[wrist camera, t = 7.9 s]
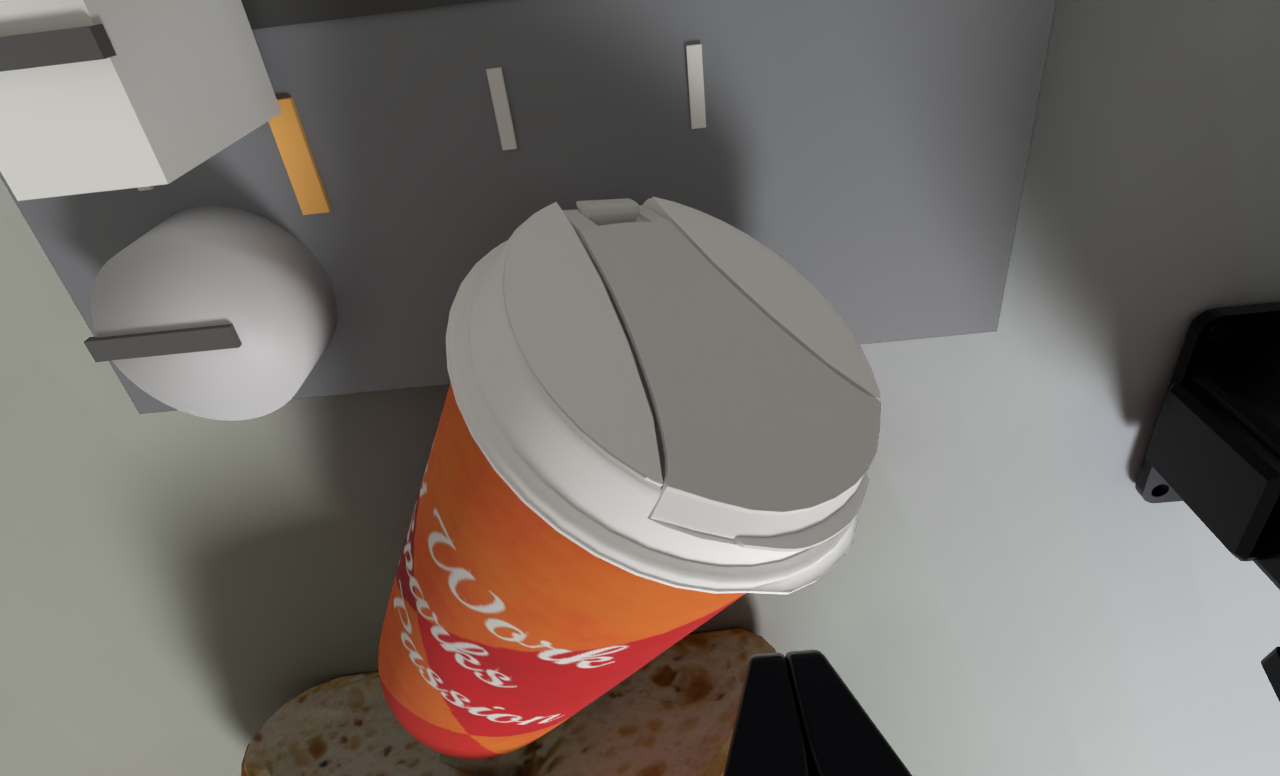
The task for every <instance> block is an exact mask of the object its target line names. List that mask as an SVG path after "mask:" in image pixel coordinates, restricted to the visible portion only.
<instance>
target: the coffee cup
mask: <svg viewBox="0 0 1280 776" xmlns="http://www.w3.org/2000/svg"><path fill="white" fill-rule="evenodd" d="M576 205H577V208H578V209H574V210H562V209H561V208H560V206H559V205H558V203H557V202H555V203H553V204H551V205H549V206H547V207H545V208H543V209H541V210H540V211H538V212H536V213H534V214H533V215H532V216H531V217H529V218H528V219H527V220H526V221H525V222H524V223H522V224H521V225H520V226H519V227H518V228H517V229H516V230H515V231H514V233H513V234H512V235H511V237H510V238H509V240H507V241H505V242H503V243H501V244H500V245H499V246H497V247H496V248H494V249H493V250H491V251H490V252H489V253H488V254H487V255H485V256H484V257H483V258H482V259H481V260H480V261H478V262H477V263H476V264H475V265H474V267H473V268H472V269H471V271H470V272H469V273H468V275H467V276H466V277H465V279H464V280H463V282H462V283H461V285H460V287H459V289H458V292H457V294H456V297H455V299H454V301H453V304H452V306H451V309H450V313H449V319H448V326H447V332H446V354H447V369H448V373H449V377H450V381H451V382H450V386H449V389H448V393H447V396H446V400H445V403H444V407H443V410H442V414H441V417H440V421H439V424H438V428H437V431H436V435H435V438H434V442H433V445H432V449H431V452H430V455H429V459H428V462H427V466H426V469H425V473H424V476H423V480H422V483H421V487H420V490H419V494H418V497H417V501H416V504H415V508H414V511H413V515H412V518H411V522H410V525H409V529H408V532H407V536H406V540H405V543H404V547H403V550H402V554H401V557H400V561H399V564H398V568H397V572H396V575H395V579H394V583H393V586H392V590H391V594H390V598H389V601H388V605H387V609H386V613H385V618H384V622H383V626H382V631H381V636H380V642H379V650H378V668H379V677H380V682H381V686H382V690H383V693H384V696H385V699H386V701H387V703H388V705H389V707H390V709H391V711H392V712H393V714H394V716H395V717H396V719H397V720H398V721H399V723H400V724H401V725H402V726H403V727H404V728H405V729H406V730H407V731H408V732H409V733H410V734H411V735H412V736H413V737H414V738H415V739H417V740H418V741H419V742H421V743H422V744H424V745H426V746H427V747H429V748H431V749H433V750H435V751H437V752H440V753H442V754H445V755H448V756H452V757H456V758H462V759H487V758H494V757H498V756H502V755H505V754H508V753H511V752H514V751H516V750H518V749H520V748H522V747H524V746H526V745H528V744H530V743H531V742H533V741H535V740H536V739H538V738H540V737H541V736H543V735H544V734H546V733H547V732H549V731H551V730H552V729H554V728H555V727H557V726H558V725H560V724H561V723H563V722H564V721H565V720H567V719H568V718H570V717H571V716H573V715H574V714H576V713H577V712H579V711H580V710H582V709H583V708H584V707H586V706H587V705H589V704H590V703H592V702H593V701H595V700H596V699H597V698H599V697H600V696H602V695H603V694H605V693H606V692H607V691H609V690H610V689H612V688H613V687H614V686H616V685H617V684H619V683H620V682H622V681H623V680H624V679H626V678H627V677H629V676H630V675H632V674H633V673H634V672H636V671H637V670H639V669H640V668H642V667H643V666H644V665H646V664H647V663H649V662H650V661H651V660H653V659H654V658H656V657H657V656H658V655H660V654H661V653H663V652H664V651H665V650H667V649H668V648H670V647H671V646H673V645H674V644H675V643H677V642H678V641H680V640H681V639H682V638H684V637H685V636H687V635H688V634H689V633H691V632H692V631H694V630H695V629H696V628H698V627H699V626H701V625H702V624H704V623H705V622H706V621H708V620H709V619H711V618H712V617H713V616H715V615H716V614H718V613H719V612H720V611H722V610H723V609H725V608H726V607H728V606H729V605H730V604H732V603H733V602H735V601H736V600H737V599H739V598H740V597H742V596H743V595H745V594H746V593H763V594H787V595H788V594H790V593H792V592H794V591H796V590H798V589H801V588H803V587H805V586H807V585H809V584H811V583H814V582H815V581H816V580H818V579H819V578H820V577H822V576H823V575H824V574H825V573H827V572H828V571H829V570H830V569H832V568H833V567H834V566H835V565H837V564H838V563H839V561H840V560H841V559H842V558H843V556H844V555H845V554H846V552H847V551H848V550H849V549H850V547H851V546H852V545H853V543H854V537H855V531H856V525H857V518H858V513H859V508H860V506H861V504H862V501H863V498H864V495H865V491H866V488H867V485H868V482H869V477H868V475H867V471H868V470H869V468H870V466H871V463H872V461H873V459H874V457H875V454H876V452H877V446H878V439H879V431H880V414H881V402H880V401H881V399H880V393H879V389H878V386H877V383H876V381H875V378H874V375H873V372H872V369H871V367H870V365H869V363H868V361H867V359H866V357H865V355H864V353H863V351H862V349H861V347H860V345H859V343H858V342H857V340H856V339H855V337H854V336H853V334H852V332H851V331H850V329H849V328H848V326H847V325H846V323H845V322H844V321H843V319H842V318H841V317H840V316H839V314H838V313H837V312H836V311H835V309H834V308H833V307H832V305H831V304H830V303H829V302H828V301H827V300H826V299H825V298H824V297H823V296H822V295H821V293H820V292H819V291H818V290H817V289H816V288H815V287H814V286H813V285H812V284H811V283H810V282H809V281H808V280H807V279H806V278H804V277H803V276H802V275H801V274H800V273H799V272H798V271H797V270H796V269H794V268H793V267H792V266H791V265H790V264H788V263H787V262H786V261H785V260H783V259H782V258H781V257H779V256H778V255H777V254H776V253H774V252H773V251H772V250H770V249H769V248H767V247H766V246H764V245H763V244H761V243H760V242H758V241H757V240H755V239H754V238H752V237H751V236H749V235H747V234H746V233H744V232H742V231H740V230H738V229H737V228H735V227H733V226H731V225H729V224H727V223H726V222H724V221H722V220H719V219H717V218H715V217H713V216H710V215H708V214H706V213H704V212H702V211H699V210H696V209H694V208H691V207H688V206H685V205H682V204H679V203H676V202H673V201H669V200H665V199H661V198H657V197H652V199H651V198H649V199H647V200H646V201H645V202H644V204H643V205H638V203H637V202H635V201H634V200H632V199H629V198H624V199H605V200H586V201H577V202H576Z"/></svg>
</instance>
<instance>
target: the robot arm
mask: <svg viewBox="0 0 1280 776" xmlns="http://www.w3.org/2000/svg"><path fill="white" fill-rule="evenodd" d="M1216 325H1218V326H1217V328H1216V329H1215V330H1213V331H1212V332H1210V330H1211V329H1212V328H1213V327H1215V326H1216ZM1136 490H1137V491H1138V493H1139V494H1140V495H1141V496H1142V497H1143V498H1144V500H1145V501H1147V502H1150V503H1161V502H1173V501H1184V502H1185V503H1186V504H1187V505H1188V506H1189V507H1190V508H1191V509H1192V511H1193V512H1194V513H1195V514H1196V515H1197V516H1198V517H1199V518H1200V519H1201V520H1202V521H1203V523H1204V524H1205V525H1206V526H1207V527H1208V528H1209V529H1210V530H1211V531H1212V532H1213V534H1214V535H1215V536H1216V537H1217V538H1218V539H1219V540H1220V541H1221V542H1222V543H1223V545H1224V546H1225V547H1226V548H1227V549H1228V550H1229V551H1230V552H1231V553H1232V554H1233V555H1234V556H1235V557H1236V558H1238V559H1239V560H1241V561H1252V560H1253V561H1254V562H1255V563H1256V564H1257V566H1258V567H1259V568H1260V569H1261V570H1262V571H1263V572H1264V573H1265V574H1266V575H1267V576H1268V577H1269V578H1270V579H1271V581H1272V582H1273V583H1274V584H1275V585H1276V586H1277V587H1278V588H1279V589H1280V302H1276V303H1266V304H1255V305H1245V306H1235V307H1224V308H1214V309H1210V310H1207V311H1205V312H1203V313H1201V314H1199V315H1198V316H1197V317H1196V318H1195V319H1194V320H1193V321H1192V323H1191V325H1190V327H1189V329H1188V332H1187V335H1186V338H1185V341H1184V344H1183V347H1182V350H1181V353H1180V356H1179V359H1178V362H1177V364H1176V367H1175V370H1174V373H1173V376H1172V379H1171V382H1170V385H1169V388H1168V391H1167V394H1166V397H1165V400H1164V402H1163V405H1162V408H1161V411H1160V414H1159V417H1158V420H1157V423H1156V426H1155V429H1154V432H1153V435H1152V438H1151V440H1150V443H1149V446H1148V449H1147V452H1146V455H1145V458H1144V461H1143V464H1142V467H1141V470H1140V473H1139V476H1138V478H1137V481H1136ZM1261 664H1262V666H1263V668H1264V670H1265V672H1266V674H1267V677H1268V679H1269V681H1270V683H1271V685H1272V687H1273V689H1274V691H1275V693H1276V695H1277V697H1278V699H1279V701H1280V647H1276V648H1275V649H1274V650H1273V651H1272V652H1271V653H1269V654H1268V655H1267V656H1266V657H1265V658H1264V659H1263V660H1262V661H1261ZM723 776H912V775H911V773H910V772H909V771H908V769H907V768H906V767H905V765H904V764H903V762H902V761H901V760H900V758H899V757H898V756H897V754H896V753H895V752H894V750H893V749H892V747H891V746H890V745H889V743H888V742H887V741H886V739H885V738H884V736H883V735H882V734H881V732H880V731H879V730H878V728H877V727H876V726H875V724H874V723H873V721H872V720H871V719H870V717H869V716H868V715H867V713H866V712H865V710H864V709H863V708H862V706H861V705H860V704H859V702H858V701H857V699H856V698H855V697H854V695H853V694H852V693H851V691H850V690H849V689H848V687H847V686H846V684H845V683H844V682H843V680H842V679H841V678H840V676H839V675H838V673H837V672H836V671H835V669H834V668H833V667H832V665H831V664H830V663H829V661H828V660H827V658H826V657H825V656H824V655H823V654H822V653H821V652H820V651H818V650H804V651H791V652H788V653H787V654H786V656H785V657H784V655H783V654H781V653H765V654H754V655H752V656H751V657H750V658H749V661H748V665H747V669H746V674H745V678H744V683H743V687H742V692H741V696H740V701H739V705H738V710H737V714H736V719H735V723H734V728H733V732H732V737H731V741H730V746H729V750H728V755H727V759H726V764H725V768H724V773H723Z"/></svg>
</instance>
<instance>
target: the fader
mask: <svg viewBox="0 0 1280 776" xmlns="http://www.w3.org/2000/svg"><path fill="white" fill-rule="evenodd" d="M279 114H281V110H280V107H279V104H278V102H277V99H276V96H275V93H274V90H273V88H272V85H271V82H270V79H269V77H268V74H267V71H266V68H265V65H264V63H263V60H262V57H261V54H260V52H259V49H258V46H257V43H256V40H255V38H254V35H253V32H252V29H251V27H250V24H249V21H248V18H247V15H246V13H245V10H244V7H243V4H242V2H241V0H0V172H1V173H2V175H3V177H4V178H5V180H6V182H7V184H8V185H9V187H10V189H11V190H12V192H13V194H14V196H15V197H16V199H17V201H22V200H31V199H40V198H49V197H58V196H67V195H76V194H85V193H93V192H102V191H111V190H120V189H129V188H138V187H147V186H156V185H165V184H169V183H171V182H172V181H174V180H176V179H177V178H179V177H180V176H182V175H184V174H185V173H187V172H188V171H190V170H192V169H193V168H195V167H196V166H198V165H199V164H201V163H203V162H204V161H206V160H207V159H209V158H211V157H212V156H214V155H215V154H217V153H219V152H220V151H222V150H223V149H225V148H226V147H228V146H230V145H231V144H233V143H234V142H236V141H238V140H239V139H241V138H242V137H244V136H246V135H247V134H249V133H250V132H252V131H253V130H255V129H257V128H258V127H260V126H261V125H263V124H265V123H266V122H268V121H269V120H271V119H273V118H274V117H276V116H277V115H279Z"/></svg>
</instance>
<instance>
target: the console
mask: <svg viewBox="0 0 1280 776" xmlns="http://www.w3.org/2000/svg"><path fill="white" fill-rule="evenodd" d="M241 2H242V4H243V7H244V10H245V13H246V15H247V18H248V21H249V24H250V27H251V29H252V32H253V35H254V38H255V40H256V43H257V46H258V49H259V52H260V54H261V57H262V60H263V63H264V65H265V68H266V71H267V74H268V77H269V79H270V82H271V85H272V88H273V90H274V93H275V96H276V99H277V102H278V104H279V107H280V110H281V114H279V115H277V116H276V117H274V118H273V119H271V120H269V121H268V122H266V123H265V124H263V125H261V126H260V127H258V128H257V129H255V130H253V131H252V132H250V133H249V134H247V135H246V136H244V137H242V138H241V139H239V140H238V141H236V142H234V143H233V144H231V145H230V146H228V147H226V148H225V149H223V150H222V151H220V152H219V153H217V154H215V155H214V156H212V157H211V158H209V159H207V160H206V161H204V162H203V163H201V164H199V165H198V166H196V167H195V168H193V169H192V170H190V171H188V172H187V173H185V174H184V175H182V176H180V177H179V178H177V179H176V180H174V181H172V182H171V183H169V184H165V185H156V186H147V187H138V188H129V189H120V190H111V191H102V192H93V193H85V194H76V195H67V196H58V197H49V198H40V199H31V200H22V201H17V199H16V197H15V196H14V194H13V192H12V190H11V189H10V187H9V185H8V184H7V182H6V180H5V178H4V177H3V175H2V173H1V172H0V177H1V179H2V181H3V182H4V184H5V186H6V187H7V189H8V191H9V192H10V194H11V196H12V198H13V199H14V201H15V203H16V204H17V206H18V208H19V209H20V211H21V213H22V215H23V216H24V218H25V220H26V221H27V223H28V225H29V226H30V228H31V230H32V232H33V233H34V235H35V237H36V238H37V240H38V242H39V243H40V245H41V247H42V249H43V250H44V252H45V254H46V255H47V257H48V259H49V260H50V262H51V264H52V266H53V267H54V269H55V271H56V272H57V274H58V276H59V277H60V279H61V281H62V283H63V284H64V286H65V288H66V289H67V291H68V293H69V294H70V296H71V298H72V300H73V301H74V303H75V305H76V306H77V308H78V310H79V311H80V313H81V315H82V317H83V318H84V320H85V322H86V323H87V325H88V327H89V328H90V330H91V332H92V334H93V335H94V337H89V338H88V339H87V340H86V341H84V343H85V345H86V347H87V348H88V350H89V352H90V353H91V355H92V357H93V358H94V360H95V362H101V361H109V362H110V364H111V366H112V368H113V369H114V371H115V373H116V374H117V376H118V378H119V379H120V381H121V383H122V385H123V386H124V388H125V390H126V391H127V393H128V395H129V397H130V398H131V400H132V402H133V403H134V405H135V407H136V408H137V410H138V412H139V414H144V413H155V412H165V411H176V410H180V411H183V412H186V413H188V414H191V415H195V416H199V417H203V418H208V419H214V420H226V421H237V420H247V419H254V418H257V417H261V416H265V415H267V414H269V413H272V412H274V411H276V410H277V409H279V408H281V407H282V406H284V405H285V404H286V403H287V402H288V401H289V400H291V399H300V398H310V397H321V396H331V395H341V394H352V393H362V392H372V391H383V390H393V389H403V388H414V387H424V386H435V385H445V384H450V382H451V381H450V377H449V373H448V369H447V354H446V332H447V326H448V319H449V313H450V309H451V306H452V304H453V301H454V299H455V297H456V294H457V292H458V289H459V287H460V285H461V283H462V282H463V280H464V279H465V277H466V276H467V275H468V273H469V272H470V271H471V269H472V268H473V267H474V265H475V264H476V263H477V262H478V261H480V260H481V259H482V258H483V257H484V256H485V255H487V254H488V253H489V252H490V251H491V250H493V249H494V248H496V247H497V246H499V245H500V244H501V243H503V242H505V241H507V240H509V238H510V237H511V235H512V234H513V233H514V231H515V230H516V229H517V228H518V227H519V226H520V225H521V224H522V223H524V222H525V221H526V220H527V219H528V218H529V217H531V216H532V215H533V214H534V213H536V212H538V211H540V210H541V209H543V208H545V207H547V206H549V205H551V204H553V203H555V202H557V203H558V205H559V206H560V208H561V209H562V210H574V209H578V208H577V205H576V202H577V201H586V200H605V199H624V198H629V199H632V200H634V201H635V202H637V203H638V205H643V204H644V202H645V201H646V200H647V199H649V198H651V199H652V197H657V198H661V199H665V200H669V201H673V202H676V203H679V204H682V205H685V206H688V207H691V208H694V209H696V210H699V211H702V212H704V213H706V214H708V215H710V216H713V217H715V218H717V219H719V220H722V221H724V222H726V223H727V224H729V225H731V226H733V227H735V228H737V229H738V230H740V231H742V232H744V233H746V234H747V235H749V236H751V237H752V238H754V239H755V240H757V241H758V242H760V243H761V244H763V245H764V246H766V247H767V248H769V249H770V250H772V251H773V252H774V253H776V254H777V255H778V256H779V257H781V258H782V259H783V260H785V261H786V262H787V263H788V264H790V265H791V266H792V267H793V268H794V269H796V270H797V271H798V272H799V273H800V274H801V275H802V276H803V277H804V278H806V279H807V280H808V281H809V282H810V283H811V284H812V285H813V286H814V287H815V288H816V289H817V290H818V291H819V292H820V293H821V295H822V296H823V297H824V298H825V299H826V300H827V301H828V302H829V303H830V304H831V305H832V307H833V308H834V309H835V311H836V312H837V313H838V314H839V316H840V317H841V318H842V319H843V321H844V322H845V323H846V325H847V326H848V328H849V329H850V331H851V332H852V334H853V336H854V337H855V339H856V340H857V342H858V343H859V344H870V343H880V342H890V341H901V340H911V339H922V338H932V337H942V336H953V335H963V334H973V333H984V332H994V331H997V327H998V322H999V316H1000V311H1001V305H1002V300H1003V294H1004V288H1005V283H1006V277H1007V272H1008V266H1009V261H1010V255H1011V250H1012V244H1013V238H1014V233H1015V227H1016V222H1017V216H1018V211H1019V205H1020V200H1021V194H1022V189H1023V183H1024V177H1025V172H1026V166H1027V161H1028V155H1029V150H1030V144H1031V139H1032V133H1033V127H1034V122H1035V116H1036V111H1037V105H1038V100H1039V94H1040V89H1041V83H1042V77H1043V72H1044V66H1045V61H1046V55H1047V50H1048V44H1049V39H1050V33H1051V27H1052V22H1053V16H1054V11H1055V5H1056V0H241Z"/></svg>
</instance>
